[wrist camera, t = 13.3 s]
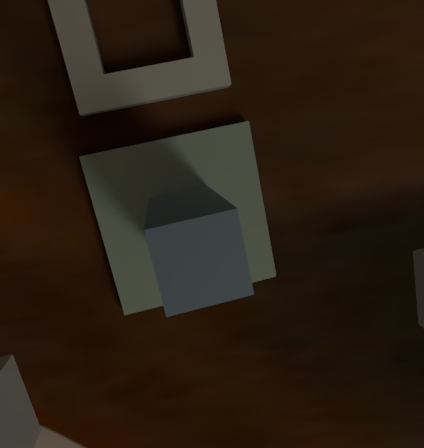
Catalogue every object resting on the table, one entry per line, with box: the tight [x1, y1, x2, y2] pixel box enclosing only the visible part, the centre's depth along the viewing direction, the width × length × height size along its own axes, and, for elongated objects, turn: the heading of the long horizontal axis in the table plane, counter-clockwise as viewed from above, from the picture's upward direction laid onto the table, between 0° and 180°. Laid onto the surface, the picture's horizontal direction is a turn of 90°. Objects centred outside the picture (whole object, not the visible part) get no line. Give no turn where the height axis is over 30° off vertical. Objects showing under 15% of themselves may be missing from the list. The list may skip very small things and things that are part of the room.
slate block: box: [144, 186, 254, 317], centre depth 26 cm, size 5×5×12 cm
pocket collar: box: [48, 0, 231, 116], centre depth 28 cm, size 12×12×2 cm
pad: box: [79, 121, 276, 315], centre depth 32 cm, size 14×14×1 cm
